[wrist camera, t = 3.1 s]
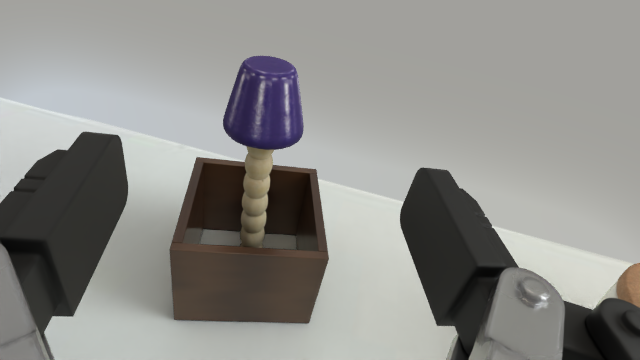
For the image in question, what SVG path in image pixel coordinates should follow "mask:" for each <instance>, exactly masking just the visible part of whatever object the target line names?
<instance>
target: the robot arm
mask: <svg viewBox="0 0 640 360" xmlns="http://www.w3.org/2000/svg"><path fill="white" fill-rule="evenodd" d="M127 196H128V181H127V175H126V168H125V161H124V155H123V148H122V142H121V139H120V137H119V136H118V135H112V134H102V133H93V132H83V133H81V134H80V136H79V137H78V138H77V139H76V141H75V142H74V143H73V144H72V146H71V147H70V148H69V149H68V150H56V151H54V152H52V153H51V154H49V155H47V156H45V157H44V158H42V159H40V160H38V161H37V162H36V163H35V164H34V165H33V167H32V168H31V169H30V170H29V171H28V172H27V173H26V175H25V178H24V179H21V180H20V181H19V183H18V184H17V185H16V186H15V187H14V191H11V192H10V193H9V194H8V195H7V196H6V197H5V199H4V200H3V201H2V202H1V203H0V360H55V359H54V357H53V354H52V352H51V349H50V346H49V344H48V341H47V339H46V336H45V334H44V331H45V329H46V327H47V325H48V323H49V321H50V320H51V318H52V316H73V315H74V313H75V311H76V309H77V307H78V305H79V303H80V301H81V298H82V296H83V294H84V292H85V290H86V288H87V286H88V284H89V282H90V279H91V277H92V275H93V273H94V271H95V269H96V267H97V265H98V263H99V260H100V258H101V256H102V254H103V252H104V250H105V248H106V246H107V244H108V241H109V239H110V237H111V235H112V233H113V231H114V229H115V227H116V225H117V222H118V220H119V218H120V216H121V214H122V212H123V210H124V207H125V205H126V201H127ZM400 224H401V229H402V231H403V234H404V237H405V240H406V242H407V245H408V248H409V251H410V253H411V256H412V259H413V261H414V264H415V267H416V270H417V272H418V275H419V278H420V280H421V283H422V286H423V289H424V291H425V294H426V297H427V299H428V302H429V305H430V308H431V310H432V313H433V316H434V319H435V321H436V324H437V326H455V328H456V331H457V333H458V334H457V335H456V336H455V338H454V339H453V341H452V344H451V347H450V350H449V353H448V356H447V358H446V360H640V308H639V307H637V306H636V305H634V304H632V303H630V302H627V301H625V300H621V299H617V298H607V299H604V300H603V301H602V302H601V303H600V304H599V305H598V306H597V307H596V308H595V309H593V310H591V309H588V308H585V307H582V306H579V305H576V304H573V303H570V302H566V301H563V300H562V298H561V296H560V294H559V293H558V292H557V290H556V289H555V288H554V287H553V286H552V285H551V284H550V283H549V282H548V281H546V280H545V279H544V278H542V277H541V276H539V275H538V274H536V273H534V272H532V271H529V270H526V269H523V268H519V267H518V265H517V264H516V262H515V261H514V259H513V258H512V256H511V254H510V253H509V251H508V250H507V248H506V247H505V245H504V244H503V242H502V240H501V239H500V237H499V236H498V234H497V233H496V231H495V229H494V228H492V225H491V223H490V222H489V220H488V218H487V217H485V214H484V212H483V211H482V209H481V208H480V206H479V204H478V203H477V201H476V200H474V199H473V198H472V197H471V196H470V195H469V194H468V193H466V191H464V190H463V189H460V188H459V187H458V185H457V184H456V182H455V180H454V179H453V177H452V176H451V174H450V173H449V171H447V170H441V169H431V168H420V169H419V170H418V171H417V173H416V175H415V177H414V180H413V182H412V184H411V187H410V189H409V192H408V194H407V196H406V199H405V201H404V203H403V206H402V209H401V213H400Z"/></svg>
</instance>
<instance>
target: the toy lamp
mask: <svg viewBox="0 0 640 360" xmlns="http://www.w3.org/2000/svg"><path fill="white" fill-rule="evenodd" d="M223 126H224V129H225V131H226V133H227V134H228V136H230V137H231V138H232V139H233V140H235V141H236V142H238V143H240V144H242V145H245V146H247V150H248V154H247V156H246V159H245V169H246V172H247V173H246V175H245V177H244V182H243V186H244V190H245V192H244V194H243V197H242V207H243V212H242V215H241V224H242V229H241V232H240V239H241V244H240V246H239V247H254V248H263V244H262V242H263V239H264V235H265V231H264V226H265V223H266V212H265V210H266V208H267V205H268V195H267V192H268V190H269V187H270V176H269V174H270V172H271V170H272V166H273V159H272V155H271V154H272V153H273V151H274V150H276V149H283V148H286V147H290V146H292V145H293V144H295V143H297V142H298V141H299V140H300V138H301V137H302V134H303V117H302V107H301V97H300V89H299V81H298V75H297V71H296V69H295V67H294V66H293V65H292V64H291V63H289V62H287V61H285V60H282V59H279V58H275V57H270V56H253V57H250V58H247V59H246V60H245V61H244V62H243V63H242V65H241V67H240V69H239V72H238V75H237V78H236V81H235V84H234V87H233V90H232V93H231V96H230V99H229V102H228V105H227V108H226V112H225V115H224V119H223Z"/></svg>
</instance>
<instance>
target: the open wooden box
mask: <svg viewBox="0 0 640 360" xmlns="http://www.w3.org/2000/svg"><path fill="white" fill-rule="evenodd" d="M246 173H247V172H246V169H245V162H239V161H229V160H219V159H209V158H200V157H197V158H196V161H195V164H194V168H193V171H192V175H191V178H190V181H189V185H188V188H187V192H186V195H185V199H184V202H183V205H182V209H181V212H180V216H179V219H178V223H177V226H176V229H175V233H174V236H173V240H172V244H171V247H170V263H171V277H172V292H173V307H174V319H175V320H205V321H245V322H286V323H309V321H310V318H311V315H312V311H313V308H314V305H315V302H316V298H317V295H318V292H319V289H320V285H321V282H322V279H323V276H324V273H325V269H326V266H327V263H328V260H329V257H328V250H327V243H326V235H325V228H324V221H323V214H322V207H321V200H320V192H319V185H318V178H317V172H316V169H307V168H296V167H287V166H277V165H273V166H272V170H271V172H270V174H269V176H270V187H269V190H268V192H267V195H268V205H267V208H266V210H265V212H266V223H265V226H264V231H265V233H275V234H289V235H296V244H297V250H287V249H270V248H254V247H238V246H221V245H205V244H200V240H201V235H202V231H203V229H216V230H231V231H241V229H242V224H241V215H242V212H243V207H242V197H243V194H244V192H245V190H244V186H243V182H244V177H245V175H246Z"/></svg>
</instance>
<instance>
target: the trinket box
mask: <svg viewBox="0 0 640 360" xmlns="http://www.w3.org/2000/svg"><path fill="white" fill-rule="evenodd" d="M607 298H617V299H621V300H625V301H627V302H630V303H632V304H634V305H636V306H637V307H639V308H640V263H637V264H634V265H632V266H630V267H629V268H628V269H627V270H626V271H625V272H624V273H623V274H622V275H621V276H620V277H619V279H618V281H617V282H616V283H615V284H614V285H613V286H612V287H611V288H610V289H609V290H608V291H607V292H606V294H605V295H604V296H603V297H602V299H601V300H600V301H599V303H598V304H597V306H598V305H599V304H600V303H601V302H602V301H603V300H604V299H607ZM597 306H596V307H597Z"/></svg>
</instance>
